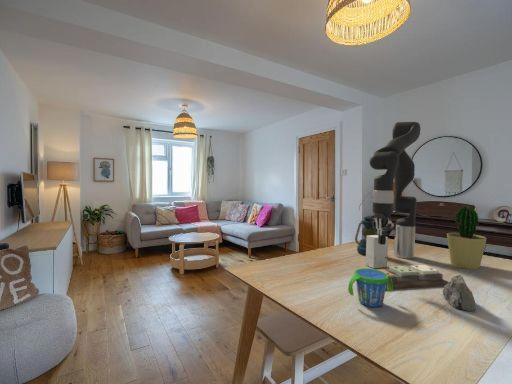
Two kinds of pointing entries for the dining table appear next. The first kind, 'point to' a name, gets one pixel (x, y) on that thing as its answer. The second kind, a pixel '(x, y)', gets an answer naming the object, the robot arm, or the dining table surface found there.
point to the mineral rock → (459, 294)
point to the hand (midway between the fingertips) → (381, 244)
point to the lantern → (364, 233)
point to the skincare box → (376, 252)
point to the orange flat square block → (386, 272)
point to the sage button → (403, 270)
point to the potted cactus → (466, 241)
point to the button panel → (416, 280)
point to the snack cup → (371, 286)
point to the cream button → (424, 269)
